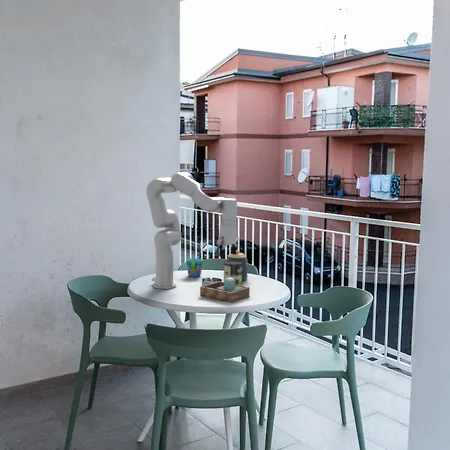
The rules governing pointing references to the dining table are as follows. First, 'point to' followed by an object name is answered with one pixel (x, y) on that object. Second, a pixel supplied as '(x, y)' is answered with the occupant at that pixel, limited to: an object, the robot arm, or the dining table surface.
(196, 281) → the dining table surface
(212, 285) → the bin
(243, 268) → the canister
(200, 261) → the snack cup
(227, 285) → the teal salt shaker
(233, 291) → the socket
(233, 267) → the coffee can
